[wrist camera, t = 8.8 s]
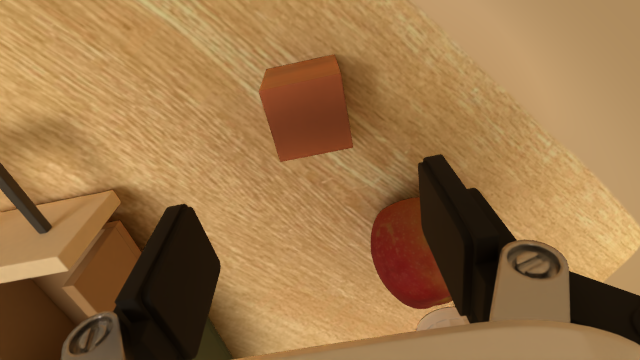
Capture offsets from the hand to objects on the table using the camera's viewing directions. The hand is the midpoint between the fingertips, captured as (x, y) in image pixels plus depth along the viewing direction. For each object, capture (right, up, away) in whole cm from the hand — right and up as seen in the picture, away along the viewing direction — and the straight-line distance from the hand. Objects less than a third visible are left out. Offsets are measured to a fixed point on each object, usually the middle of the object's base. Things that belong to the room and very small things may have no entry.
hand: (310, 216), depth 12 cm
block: (-1, +7, +11) cm, 13 cm away
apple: (+8, -2, +17) cm, 19 cm away
